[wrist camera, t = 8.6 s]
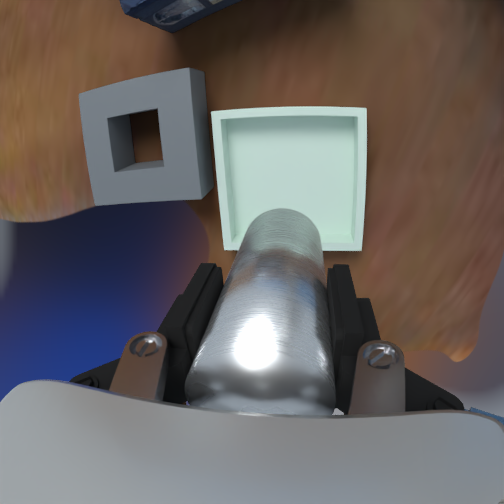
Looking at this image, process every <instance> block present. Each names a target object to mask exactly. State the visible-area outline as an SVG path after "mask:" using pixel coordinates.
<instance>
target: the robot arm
mask: <svg viewBox="0 0 504 504" xmlns="http://www.w3.org/2000/svg"><path fill="white" fill-rule="evenodd" d="M223 287H224V284H223V276H222V269H221V267H217V265H216V263H201V264H200V266H199V267H198V269H197V271H196V273H195V274H194V276H193V278H192V279H191V281H190V283H189V284H188V286H187V288H186V290H185V291H184V293H183V295H182V294H181V295H179V296H178V297H177V298H176V300H175V302H174V303H173V305H172V307H171V308H170V310H169V312H168V314H167V315H166V317H165V318H164V320H163V322H162V324H161V325H160V327H159V329H158V330H157V332H143V333H140V334H137V335H136V336H134V337H132V338H131V339H130V340H129V341H128V342H127V344H126V346H125V348H124V351H123V353H122V356H121V358H119V359H116V360H114V361H111V362H109V363H107V364H104V365H102V366H99V367H97V368H94V369H92V370H89V371H87V372H84V373H82V374H79V375H77V376H75V377H74V378H73V379H71V380H70V381H69V382H66V381H59V380H34V381H29V382H25V383H22V384H20V385H18V386H16V387H15V388H14V389H13V390H11V391H10V392H9V394H7V395H6V397H5V398H4V399H3V400H2V401H1V402H0V504H504V418H503V417H500V416H497V415H494V414H491V413H488V412H485V411H482V410H478V409H476V408H473V407H471V408H470V410H466V409H464V406H463V404H462V402H461V401H460V400H459V399H458V398H457V397H456V396H454V395H453V394H451V393H449V392H447V391H446V390H444V389H442V388H440V387H438V386H437V385H434V384H433V383H431V382H429V381H428V380H426V379H424V378H422V377H420V376H419V375H417V374H415V373H413V372H412V371H410V370H408V369H407V368H405V364H404V355H403V352H402V351H401V349H400V348H399V347H398V346H396V345H395V344H393V343H391V342H389V341H384V340H381V339H380V335H379V331H378V327H377V324H376V320H375V316H374V313H373V309H372V306H371V302H370V299H369V298H356V294H355V289H354V285H353V281H352V277H351V273H350V269H349V265H345V264H334V265H333V268H328V275H327V298H328V308H329V318H330V330H331V342H332V355H333V365H334V377H335V395H336V404H335V408H338V409H339V410H341V411H342V412H343V413H344V415H287V414H267V413H252V412H240V411H229V410H220V409H211V408H203V407H195V406H188V405H186V401H187V398H186V395H185V381H186V378H187V376H188V373H189V371H190V368H191V366H192V363H193V361H194V358H195V356H196V353H197V351H198V348H199V346H200V343H201V341H202V338H203V336H204V333H205V331H206V328H207V326H208V323H209V321H210V318H211V316H212V314H213V311H214V309H215V306H216V304H217V301H218V299H219V296H220V294H221V291H222V289H223Z"/></svg>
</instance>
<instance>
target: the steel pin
mask: <svg viewBox="0 0 504 504" xmlns="http://www.w3.org/2000/svg"><path fill="white" fill-rule="evenodd" d="M185 395H186V398H187V401H188V403H189V404H190V406H195V407H203V408H211V409H220V410H229V411H240V412H252V413H267V414H287V415H332V414H333V412H334V409H335V404H336V395H335V377H334V365H333V355H332V342H331V330H330V318H329V308H328V298H327V285H326V276H325V268H324V260H323V252H322V244H321V238H320V234H319V231H318V229H317V227H316V226H315V224H314V223H313V222H312V221H311V220H310V219H309V218H308V217H307V216H305V215H304V214H302V213H300V212H298V211H295V210H292V209H287V208H277V209H272V210H269V211H266V212H264V213H262V214H260V215H259V216H257V217H256V218H255V219H254V220H253V221H252V222H251V224H250V225H249V227H248V229H247V231H246V233H245V236H244V238H243V241H242V243H241V245H240V248H239V250H238V253H237V255H236V258H235V260H234V262H233V265H232V267H231V270H230V272H229V274H228V277H227V279H226V282H225V284H224V287H223V289H222V291H221V294H220V296H219V299H218V301H217V304H216V306H215V309H214V311H213V314H212V316H211V318H210V321H209V323H208V326H207V328H206V331H205V333H204V336H203V338H202V341H201V343H200V346H199V348H198V351H197V353H196V356H195V358H194V361H193V363H192V366H191V368H190V371H189V373H188V376H187V378H186V381H185Z"/></svg>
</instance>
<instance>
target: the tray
mask: <svg viewBox="0 0 504 504" xmlns="http://www.w3.org/2000/svg"><path fill="white" fill-rule="evenodd" d="M211 117H212V129H213V141H214V152H215V163H216V174H217V184H218V195H219V205H220V214H221V224H222V234H223V243H224V250H239V248H240V245H241V243H242V241H243V238H244V236H245V233H246V231H247V229H248V227H249V225H250V224H251V222H252V221H253V220H254V219H255V218H256V217H257V216H259V215H260V214H262V213H264V212H266V211H269V210H272V209H277V208H287V209H292V210H295V211H298V212H300V213H302V214H304V215H305V216H307V217H308V218H309V219H310V220H311V221H312V222H313V223H314V224H315V226H316V227H317V229H318V231H319V234H320V238H321V244H322V251H361V250H362V239H363V226H364V210H365V192H366V161H367V111H366V108H355V107H267V108H248V109H234V110H222V111H212V112H211Z"/></svg>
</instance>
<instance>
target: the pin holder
mask: <svg viewBox="0 0 504 504" xmlns="http://www.w3.org/2000/svg"><path fill="white" fill-rule="evenodd" d="M79 103H80V113H81V122H82V130H83V138H84V145H85V152H86V158H87V164H88V170H89V176H90V182H91V187H92V192H93V197H94V202H95V206H98V205H110V204H123V203H138V202H154V201H172V200H194V199H202V198H203V197H204V196H205V195H206V194H207V193H208V192H209V191H210V190H211V189H212V188H213V187H214V180H213V169H212V159H211V148H210V137H209V125H208V113H207V101H206V88H205V75H204V72H203V71H200V70H196V69H193V68H183V69H178V70H172V71H167V72H162V73H157V74H152V75H147V76H143V77H138V78H134V79H130V80H126V81H122V82H118V83H114V84H111V85H107V86H103V87H100V88H96V89H93V90H90V91H87V92H83V93H80V94H79ZM152 110H158V117H159V127H160V136H161V145H162V153H163V160H159V161H150V162H141V163H135V156H134V149H133V141H132V133H131V124H130V115H131V114H136V113H141V112H147V111H152Z"/></svg>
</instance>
